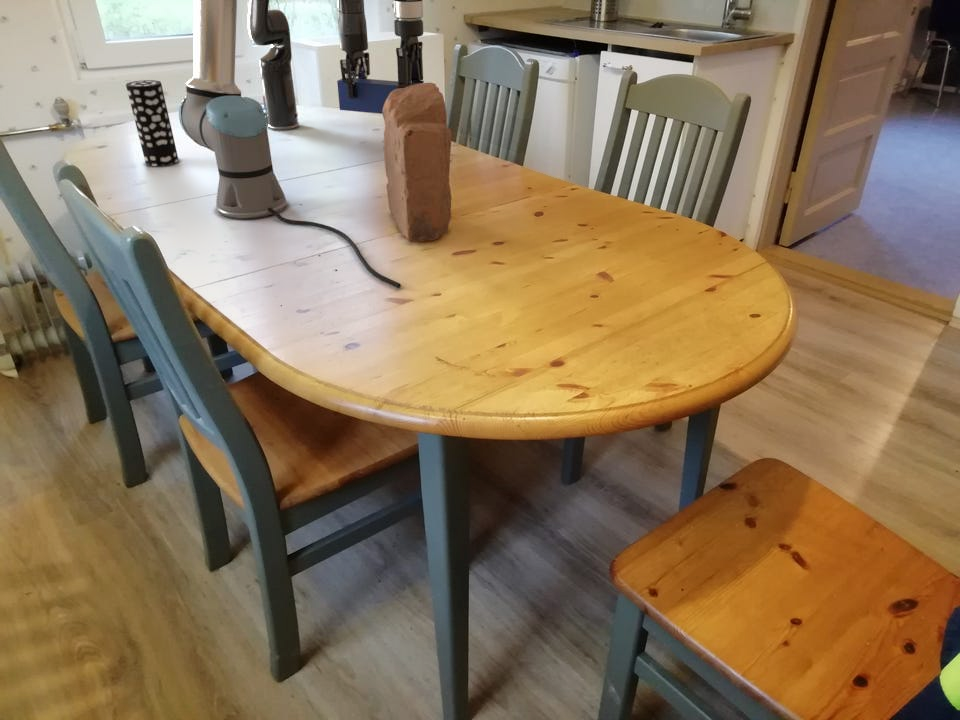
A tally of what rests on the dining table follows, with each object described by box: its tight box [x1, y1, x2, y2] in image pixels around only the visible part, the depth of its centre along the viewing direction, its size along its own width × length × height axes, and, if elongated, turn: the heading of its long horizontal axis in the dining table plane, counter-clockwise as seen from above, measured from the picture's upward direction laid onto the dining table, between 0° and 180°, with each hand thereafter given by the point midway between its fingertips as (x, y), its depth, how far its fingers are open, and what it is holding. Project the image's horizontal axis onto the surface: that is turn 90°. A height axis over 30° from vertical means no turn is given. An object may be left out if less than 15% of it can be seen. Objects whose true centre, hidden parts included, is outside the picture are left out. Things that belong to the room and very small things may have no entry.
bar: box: [336, 77, 418, 115], centre depth 192 cm, size 25×5×8 cm, turn 74°
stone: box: [382, 82, 452, 243], centre depth 143 cm, size 22×11×28 cm, turn 18°
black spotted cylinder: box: [125, 79, 179, 167], centre depth 181 cm, size 8×8×20 cm
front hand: (412, 111), depth 192 cm, fingers closed on bar, 5 cm apart
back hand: (358, 95), depth 194 cm, fingers open, 6 cm apart
